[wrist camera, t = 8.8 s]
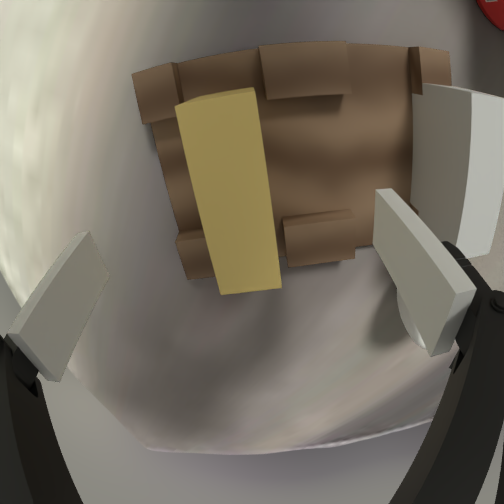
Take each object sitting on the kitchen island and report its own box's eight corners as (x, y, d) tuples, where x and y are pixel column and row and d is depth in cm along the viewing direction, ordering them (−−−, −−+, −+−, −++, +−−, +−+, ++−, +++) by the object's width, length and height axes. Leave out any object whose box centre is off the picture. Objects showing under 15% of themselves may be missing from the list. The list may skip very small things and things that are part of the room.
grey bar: (411, 81, 19) (471, 92, 12) (448, 85, 19) (511, 100, 12) (409, 212, 25) (452, 261, 19) (442, 208, 25) (488, 253, 18)
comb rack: (143, 73, 20) (131, 74, 17) (432, 51, 18) (449, 51, 16) (191, 263, 29) (187, 279, 27) (427, 232, 27) (438, 245, 25)
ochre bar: (273, 228, 26) (281, 287, 20) (227, 234, 27) (220, 294, 20) (253, 87, 20) (254, 91, 13) (199, 96, 20) (174, 106, 13)
